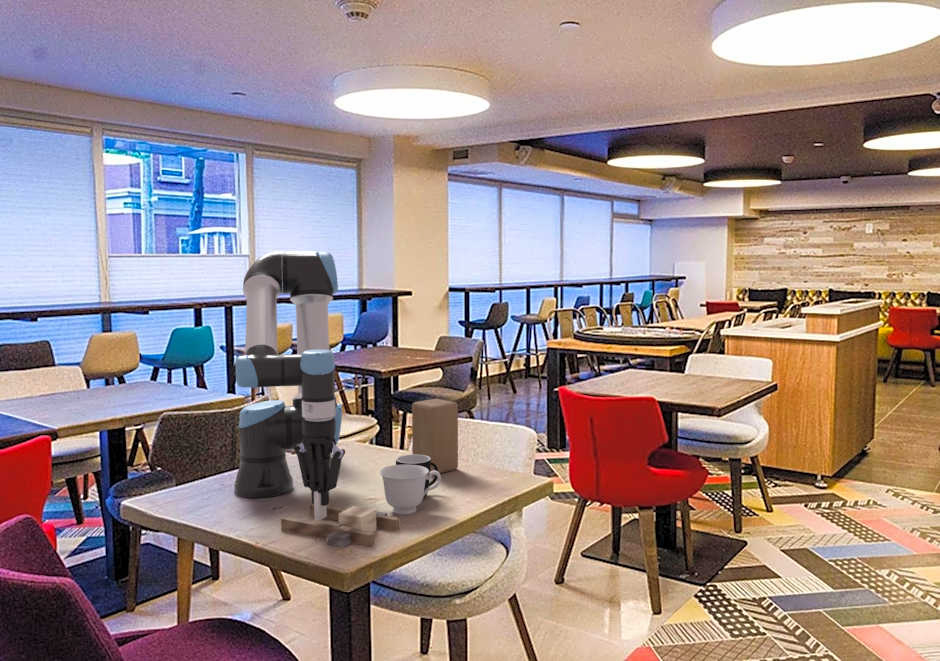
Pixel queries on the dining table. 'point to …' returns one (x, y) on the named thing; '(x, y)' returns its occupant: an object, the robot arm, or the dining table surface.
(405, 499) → the teacup
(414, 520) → the dining table surface
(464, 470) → the dining table surface
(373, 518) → the block
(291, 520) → the beam slot
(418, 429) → the block
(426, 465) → the mug
